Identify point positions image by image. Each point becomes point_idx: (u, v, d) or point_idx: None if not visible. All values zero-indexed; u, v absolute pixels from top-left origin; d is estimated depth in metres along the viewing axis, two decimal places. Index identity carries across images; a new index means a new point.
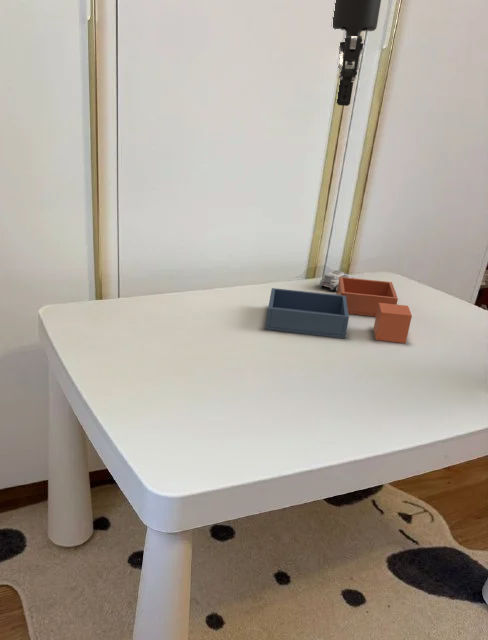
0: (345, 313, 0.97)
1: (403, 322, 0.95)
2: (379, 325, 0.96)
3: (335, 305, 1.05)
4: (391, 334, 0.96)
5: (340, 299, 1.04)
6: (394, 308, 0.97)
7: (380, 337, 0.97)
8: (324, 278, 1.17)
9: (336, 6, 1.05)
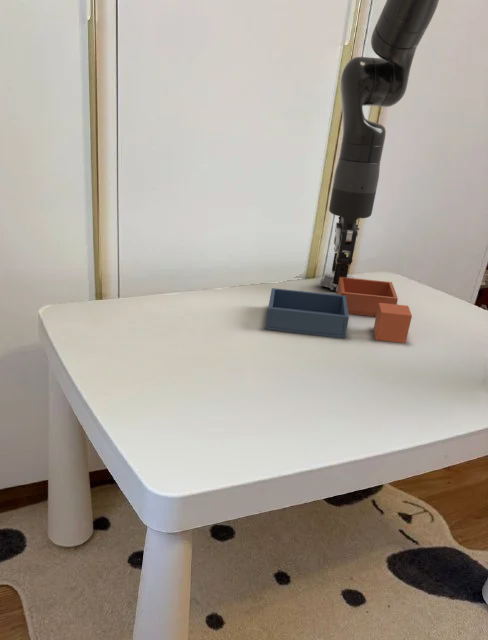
0: (345, 313, 0.97)
1: (403, 322, 0.95)
2: (379, 325, 0.96)
3: (335, 305, 1.05)
4: (391, 334, 0.96)
5: (340, 299, 1.04)
6: (394, 308, 0.97)
7: (380, 337, 0.97)
8: (324, 278, 1.17)
9: (333, 195, 1.11)
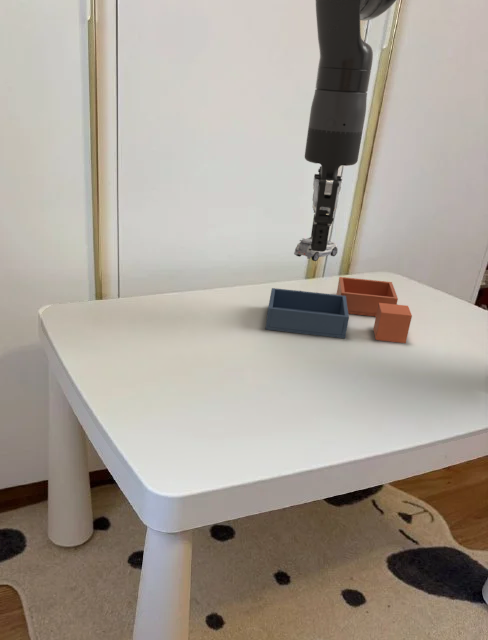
0: (345, 313, 0.97)
1: (403, 322, 0.95)
2: (379, 325, 0.96)
3: (335, 305, 1.05)
4: (391, 334, 0.96)
5: (340, 299, 1.04)
6: (394, 308, 0.97)
7: (380, 337, 0.97)
8: (300, 244, 0.94)
9: (309, 137, 0.88)
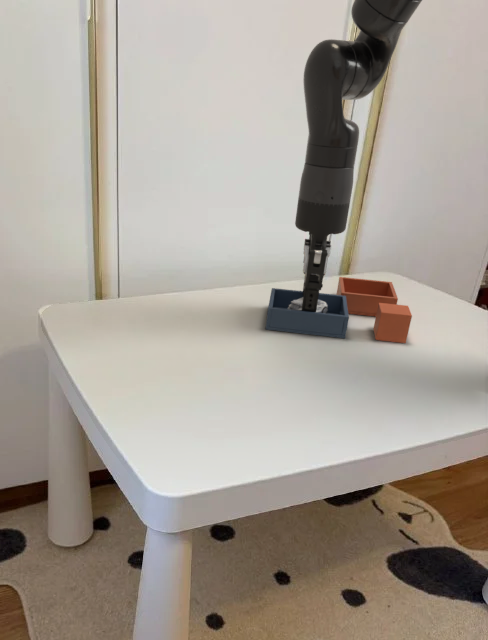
0: (345, 313, 0.97)
1: (403, 322, 0.95)
2: (379, 325, 0.96)
3: (335, 305, 1.05)
4: (391, 334, 0.96)
5: (340, 299, 1.04)
6: (394, 308, 0.97)
7: (380, 337, 0.97)
8: (291, 306, 0.99)
9: (299, 207, 0.93)
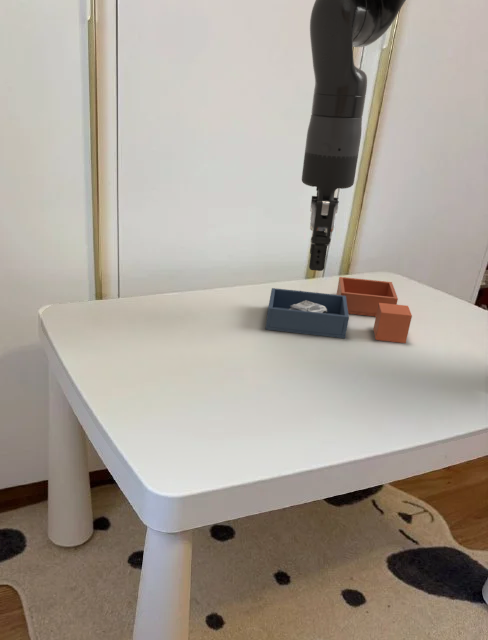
0: (345, 313, 0.97)
1: (403, 322, 0.95)
2: (379, 325, 0.96)
3: (335, 305, 1.05)
4: (391, 334, 0.96)
5: (340, 299, 1.04)
6: (394, 308, 0.97)
7: (380, 337, 0.97)
8: None
9: (306, 161, 0.90)
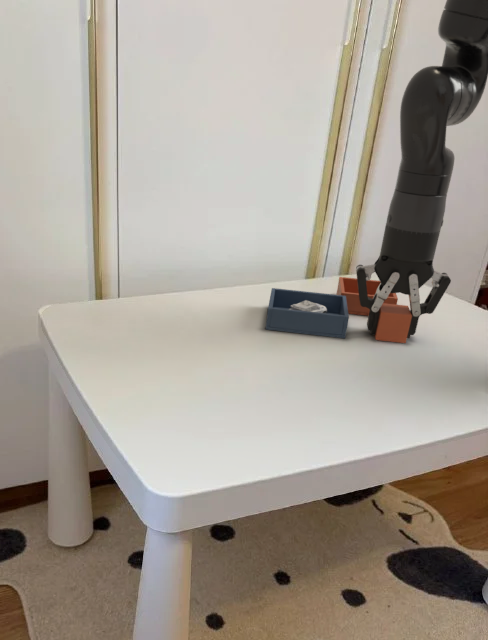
0: (345, 313, 0.97)
1: (403, 322, 0.95)
2: (379, 325, 0.96)
3: (335, 305, 1.05)
4: (391, 334, 0.96)
5: (340, 299, 1.04)
6: (394, 308, 0.97)
7: (380, 337, 0.97)
8: None
9: (425, 241, 0.88)
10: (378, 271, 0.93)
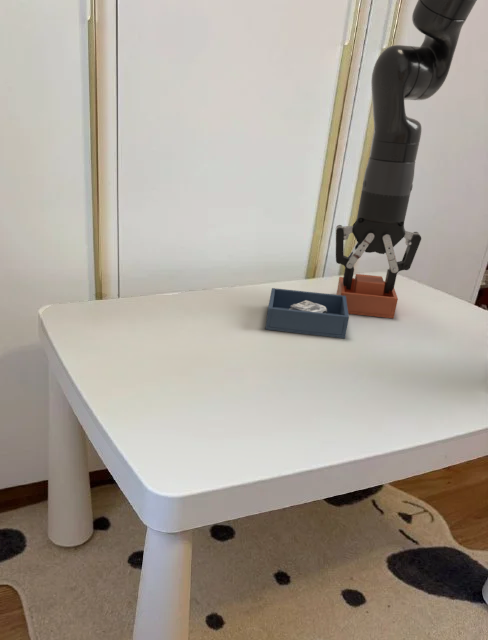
0: (345, 313, 0.97)
1: (376, 290, 1.06)
2: None
3: (335, 305, 1.05)
4: None
5: (340, 299, 1.04)
6: (369, 278, 1.08)
7: None
8: None
9: (396, 204, 0.99)
10: (355, 232, 1.04)
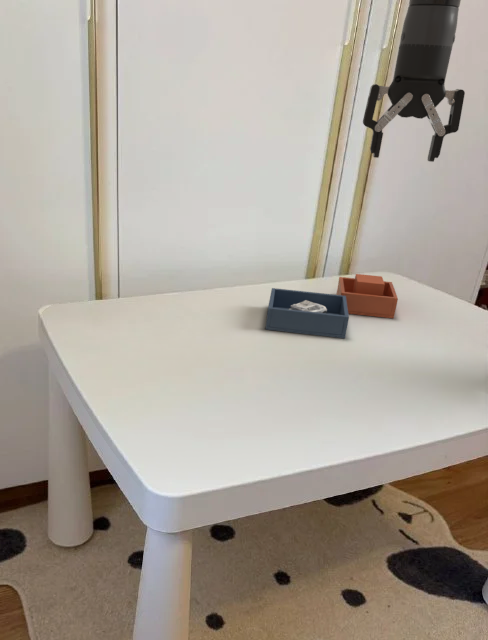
0: (345, 313, 0.97)
1: (376, 290, 1.06)
2: None
3: (335, 305, 1.05)
4: None
5: (340, 299, 1.04)
6: (369, 278, 1.08)
7: None
8: None
9: (438, 55, 0.91)
10: (391, 94, 0.96)
